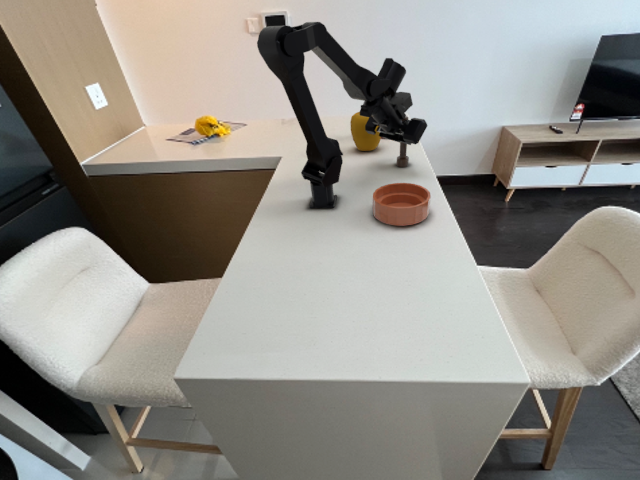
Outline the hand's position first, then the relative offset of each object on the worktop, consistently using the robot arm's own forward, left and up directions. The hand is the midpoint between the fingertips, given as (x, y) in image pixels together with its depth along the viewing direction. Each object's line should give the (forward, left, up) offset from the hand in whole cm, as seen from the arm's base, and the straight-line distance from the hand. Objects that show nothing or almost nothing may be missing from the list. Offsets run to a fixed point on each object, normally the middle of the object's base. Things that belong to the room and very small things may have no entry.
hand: (406, 142), depth 102 cm
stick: (-1, +1, -7) cm, 7 cm away
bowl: (-32, +2, -7) cm, 33 cm away
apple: (+14, +13, -7) cm, 20 cm away
